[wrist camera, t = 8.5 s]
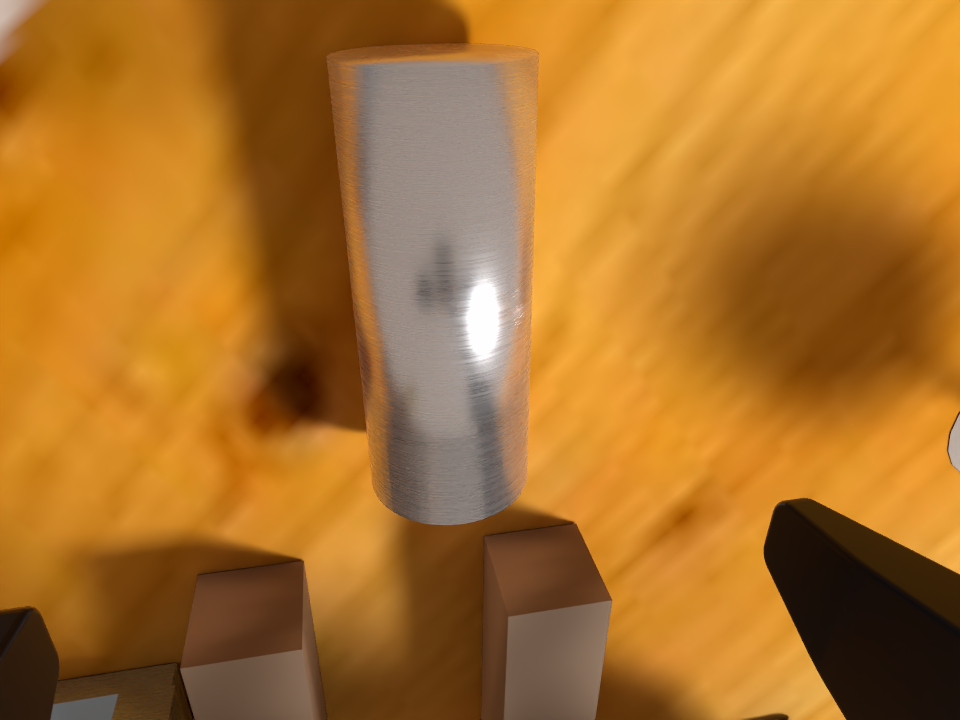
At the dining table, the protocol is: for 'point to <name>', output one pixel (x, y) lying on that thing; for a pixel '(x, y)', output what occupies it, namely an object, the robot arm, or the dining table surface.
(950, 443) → the wineglass
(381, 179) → the axle
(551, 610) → the pair of brown blocks
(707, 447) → the dining table surface
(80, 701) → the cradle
